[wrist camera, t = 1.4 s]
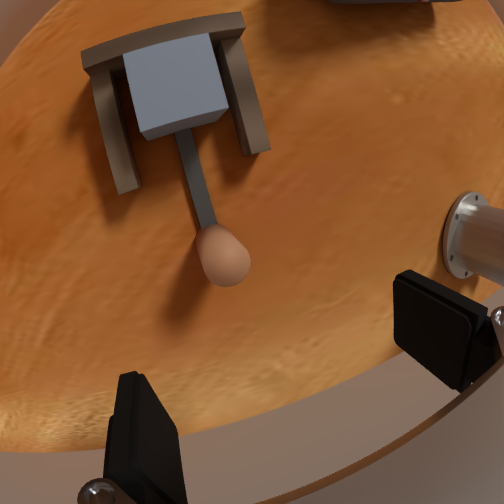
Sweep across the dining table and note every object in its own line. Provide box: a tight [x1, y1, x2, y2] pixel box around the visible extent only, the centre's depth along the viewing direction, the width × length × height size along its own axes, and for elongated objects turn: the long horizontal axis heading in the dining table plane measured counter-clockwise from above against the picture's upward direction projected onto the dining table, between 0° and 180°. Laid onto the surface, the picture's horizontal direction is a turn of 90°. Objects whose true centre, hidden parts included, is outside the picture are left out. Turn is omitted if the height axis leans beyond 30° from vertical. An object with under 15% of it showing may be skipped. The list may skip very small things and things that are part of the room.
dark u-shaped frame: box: [81, 11, 271, 195], centre depth 21 cm, size 12×12×5 cm
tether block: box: [123, 33, 251, 287], centre depth 21 cm, size 18×6×7 cm, turn 15°
